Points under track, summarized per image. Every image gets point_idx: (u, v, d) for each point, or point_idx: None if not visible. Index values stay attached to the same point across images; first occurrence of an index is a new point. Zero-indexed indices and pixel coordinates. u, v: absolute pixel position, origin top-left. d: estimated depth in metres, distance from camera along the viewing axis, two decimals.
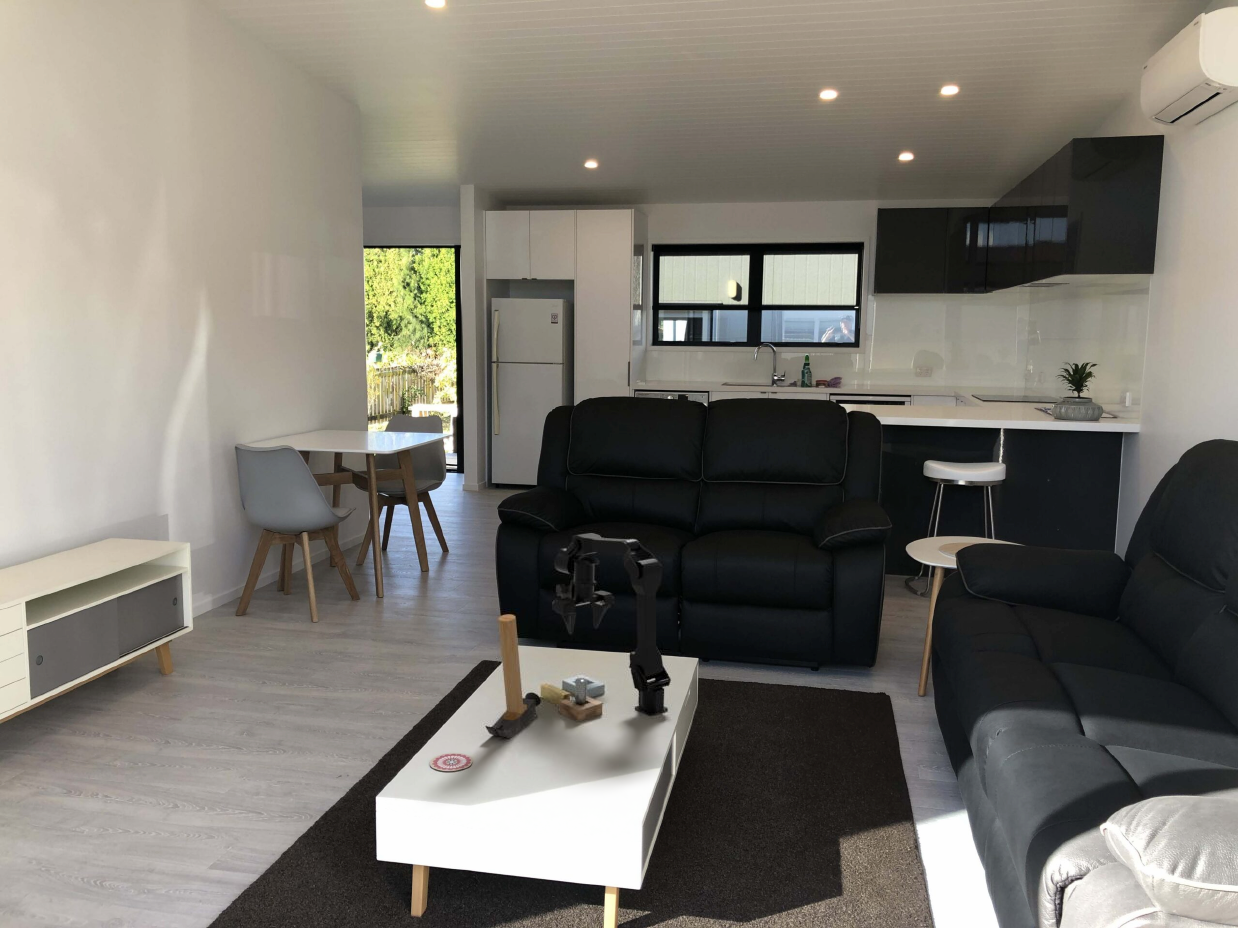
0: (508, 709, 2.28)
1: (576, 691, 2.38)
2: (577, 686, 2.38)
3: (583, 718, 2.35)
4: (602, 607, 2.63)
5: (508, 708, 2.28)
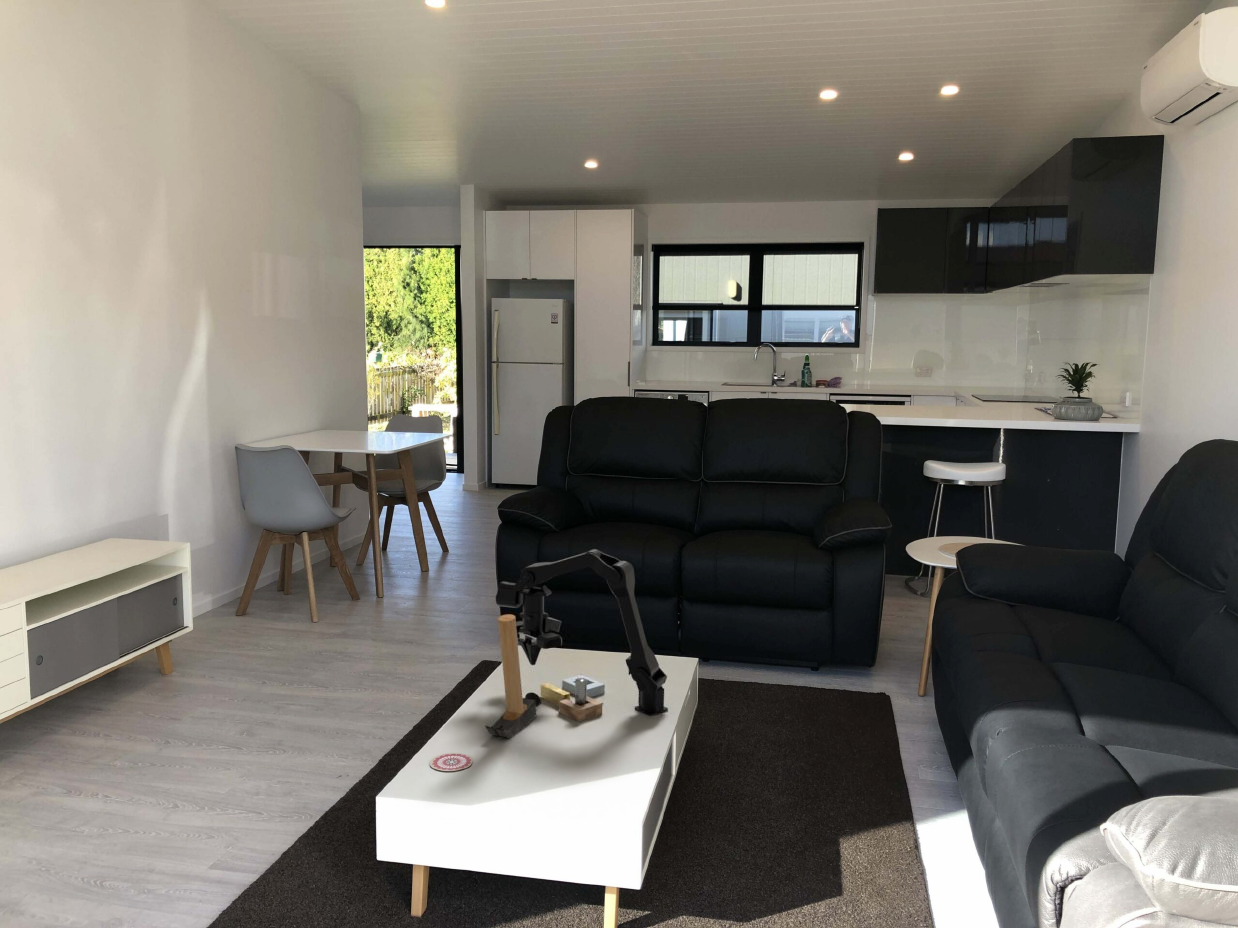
0: (508, 709, 2.28)
1: (576, 691, 2.38)
2: (577, 686, 2.38)
3: (583, 718, 2.35)
4: None
5: (508, 708, 2.28)
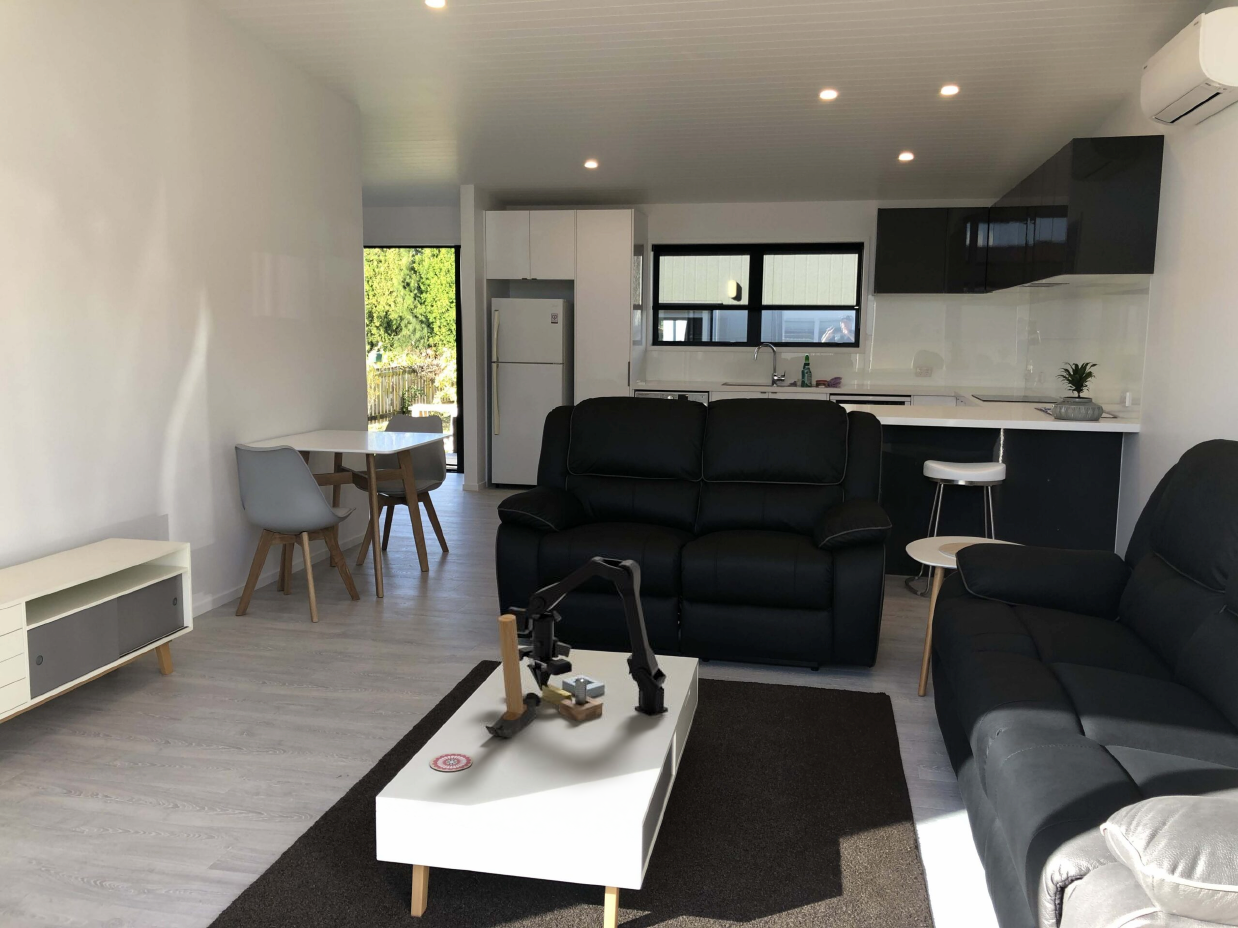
0: (508, 709, 2.28)
1: (576, 691, 2.38)
2: (577, 686, 2.38)
3: (583, 718, 2.35)
4: None
5: (508, 708, 2.28)
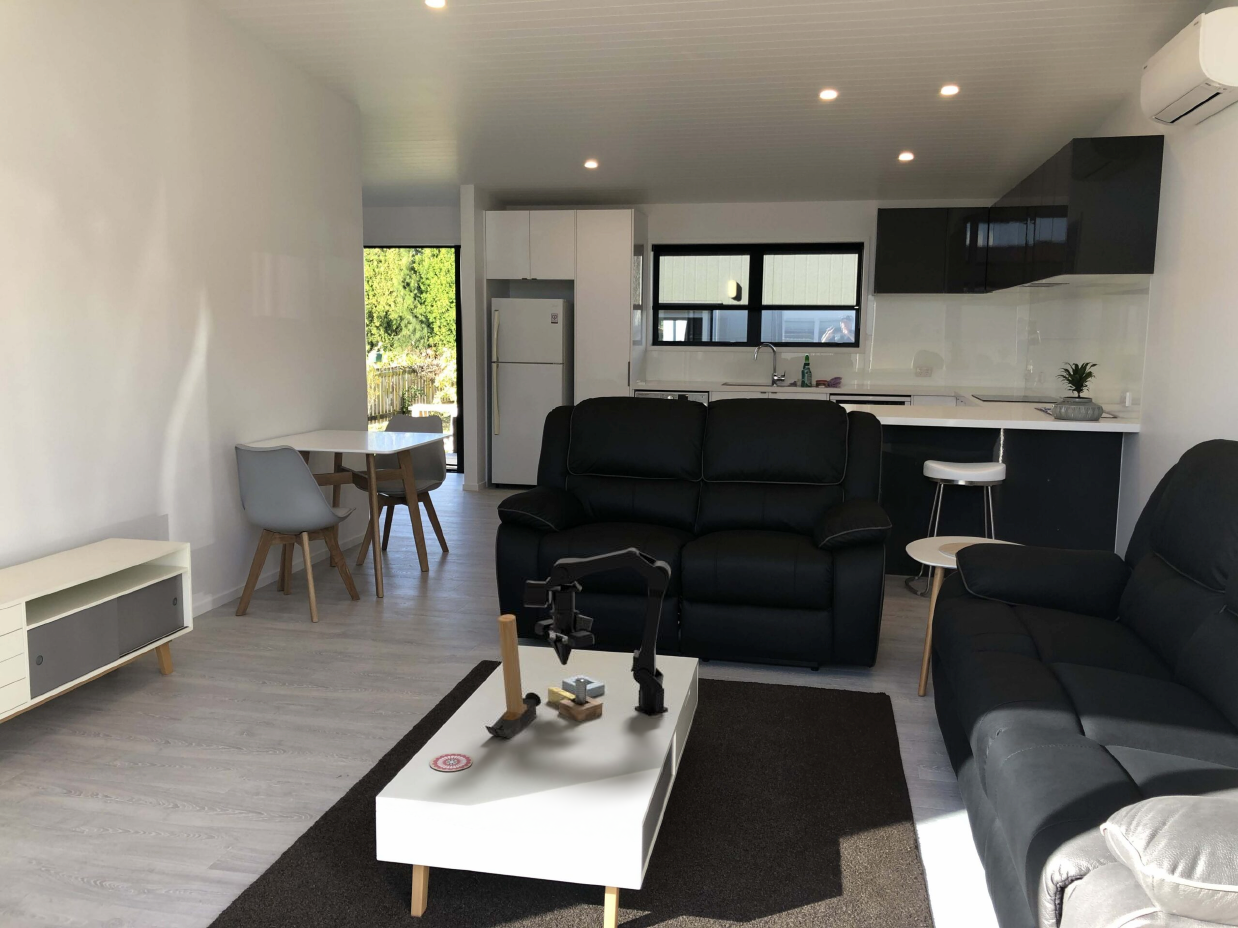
0: (508, 709, 2.28)
1: (576, 691, 2.38)
2: (577, 686, 2.38)
3: (583, 718, 2.35)
4: None
5: (508, 708, 2.28)
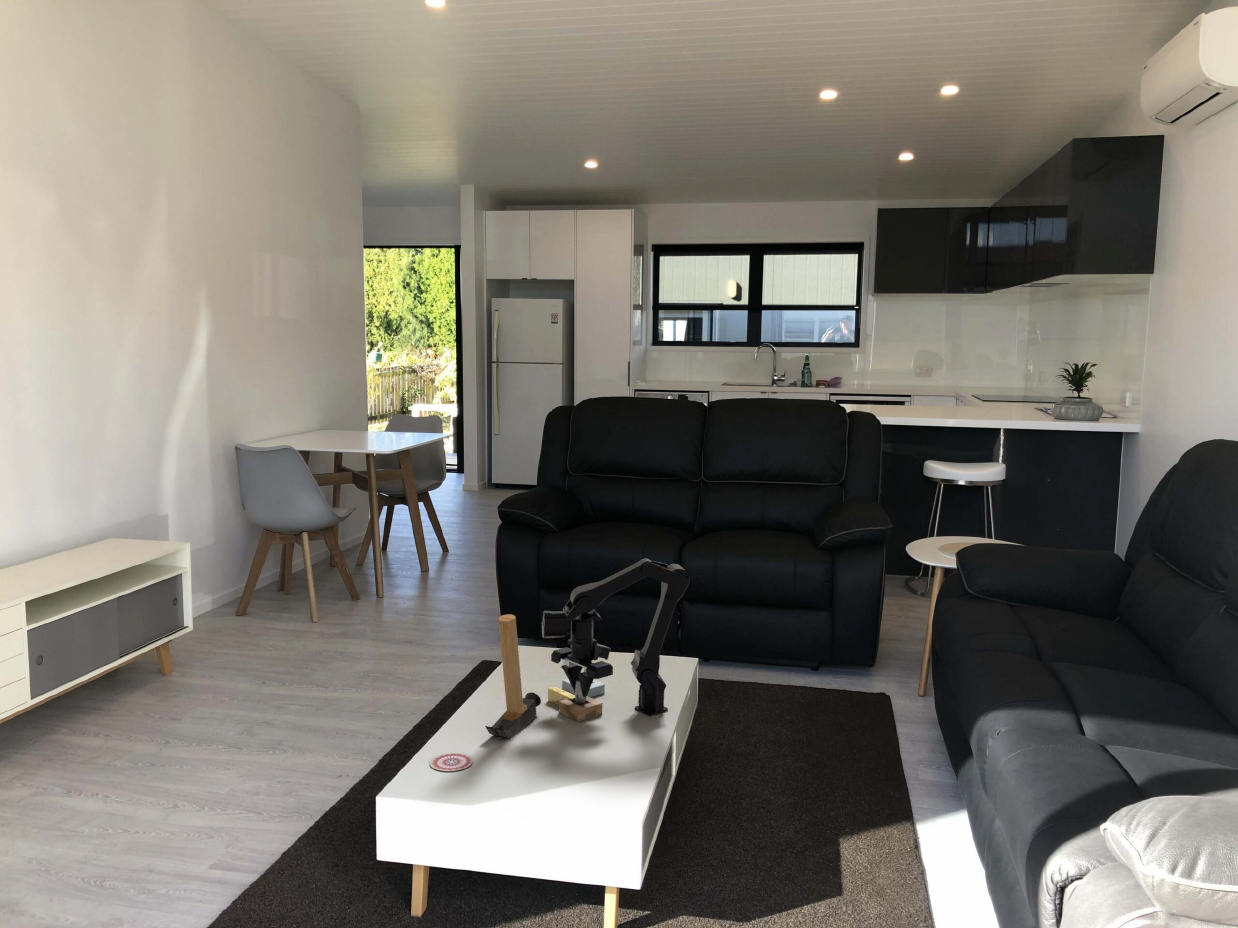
0: (508, 709, 2.28)
1: (576, 691, 2.38)
2: (577, 686, 2.38)
3: (583, 718, 2.35)
4: None
5: (508, 708, 2.28)
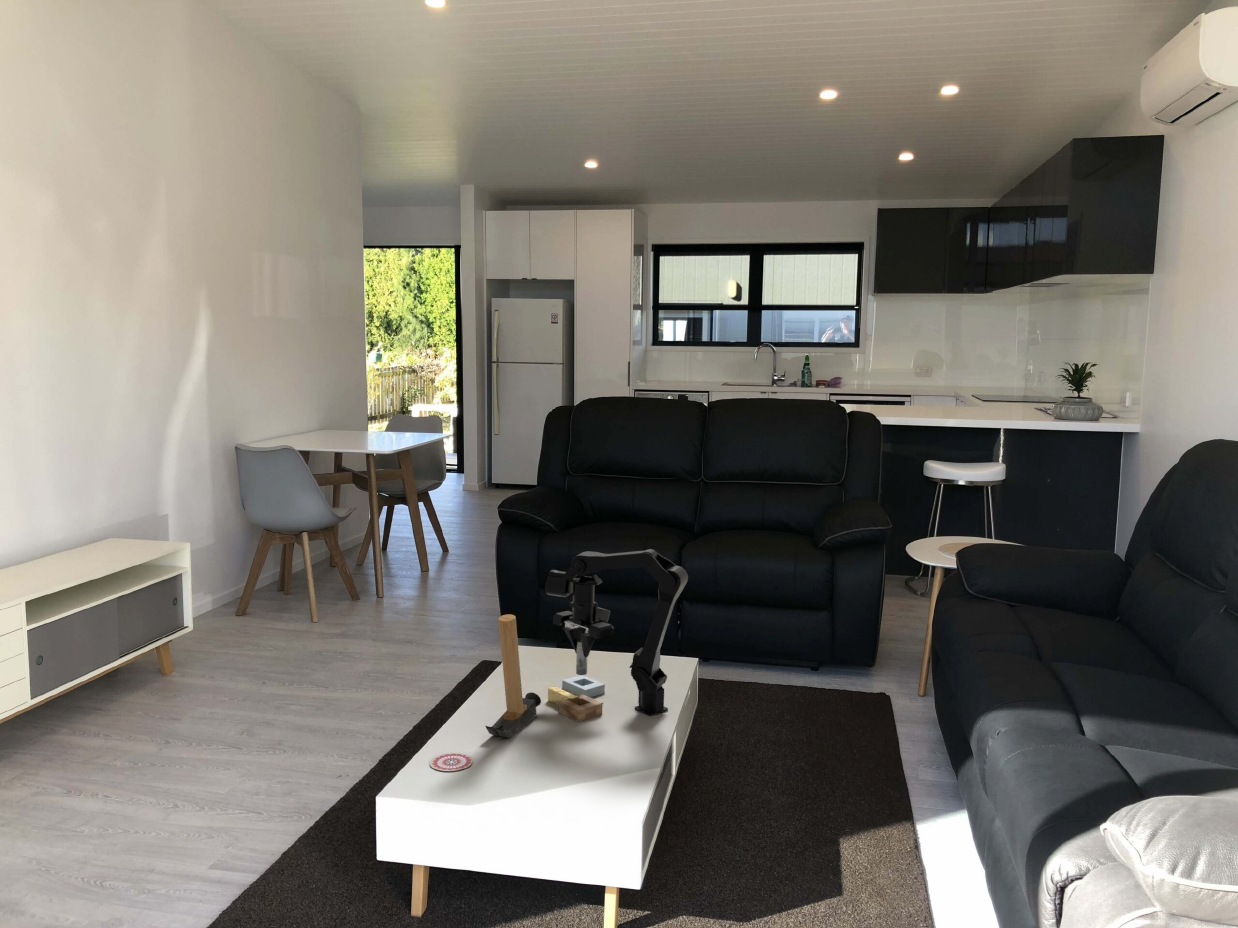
0: (508, 709, 2.28)
1: (577, 652, 2.48)
2: (578, 647, 2.47)
3: (583, 718, 2.35)
4: None
5: (508, 708, 2.28)
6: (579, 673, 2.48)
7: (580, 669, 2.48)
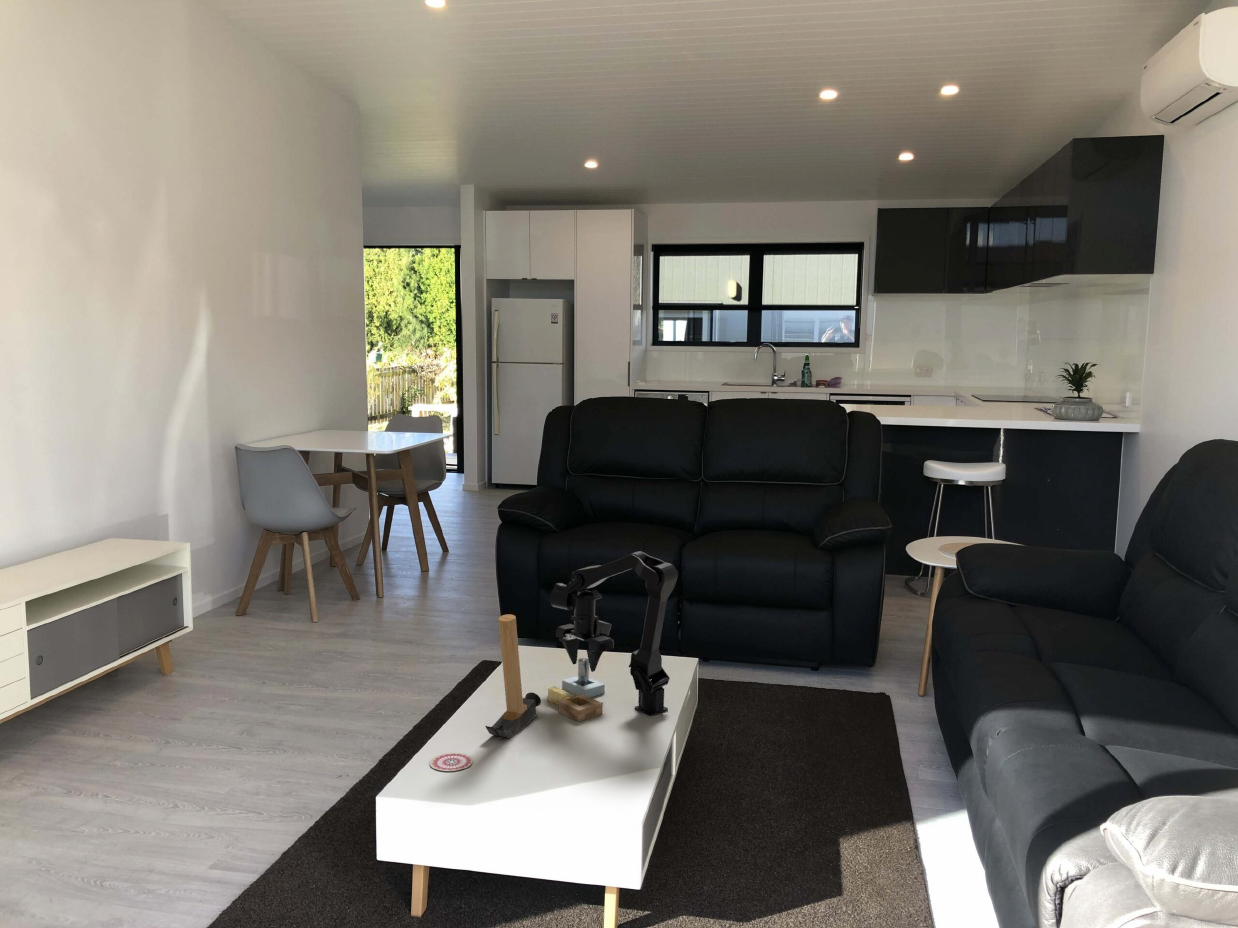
0: (508, 709, 2.28)
1: (579, 670, 2.54)
2: (580, 665, 2.54)
3: (583, 718, 2.35)
4: None
5: (508, 708, 2.28)
6: None
7: None
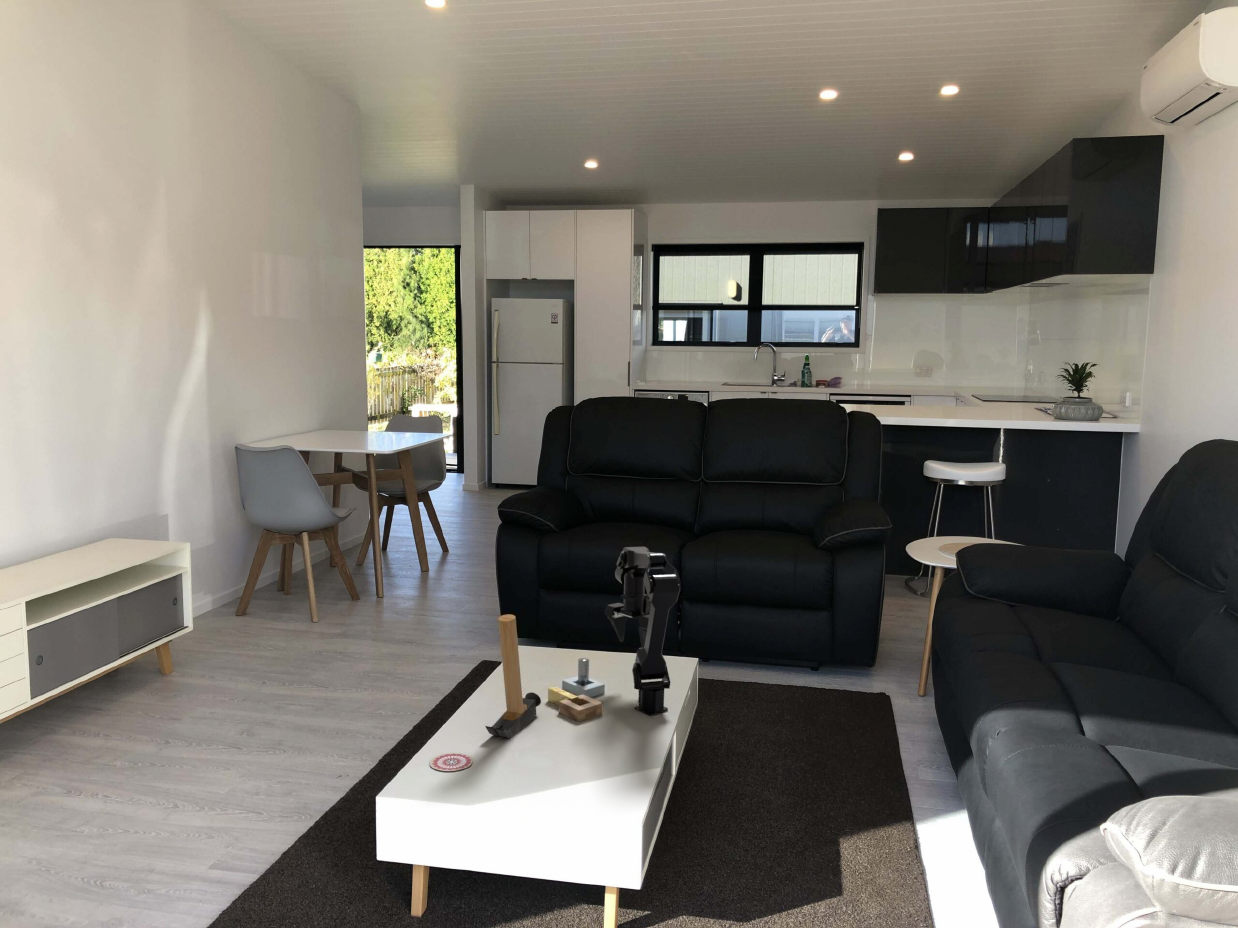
0: (508, 709, 2.28)
1: (579, 670, 2.54)
2: (580, 665, 2.54)
3: (583, 718, 2.35)
4: None
5: (508, 708, 2.28)
6: None
7: None
